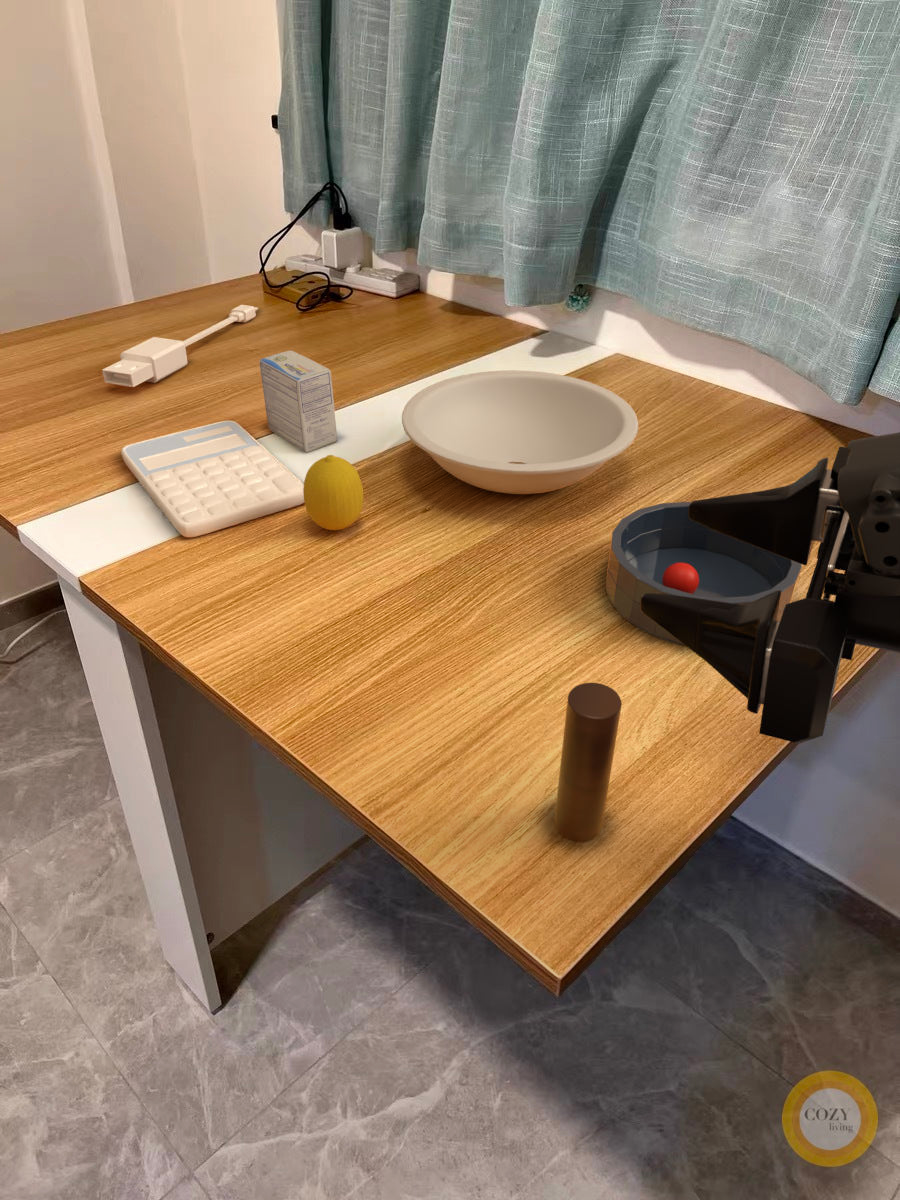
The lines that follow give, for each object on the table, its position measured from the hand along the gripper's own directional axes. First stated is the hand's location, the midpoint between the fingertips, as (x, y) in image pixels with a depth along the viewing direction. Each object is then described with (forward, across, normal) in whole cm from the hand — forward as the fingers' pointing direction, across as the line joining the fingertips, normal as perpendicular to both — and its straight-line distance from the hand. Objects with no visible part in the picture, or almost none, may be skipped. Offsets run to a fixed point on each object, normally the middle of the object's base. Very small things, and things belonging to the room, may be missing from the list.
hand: (666, 553), depth 50 cm
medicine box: (+50, -30, +16) cm, 61 cm away
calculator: (+53, -17, +14) cm, 57 cm away
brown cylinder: (+3, +8, +16) cm, 19 cm away
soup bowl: (+26, -33, +19) cm, 46 cm away
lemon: (+36, -14, +16) cm, 42 cm away
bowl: (+3, -20, +19) cm, 28 cm away
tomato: (+4, -19, +17) cm, 26 cm away
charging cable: (+79, -44, +15) cm, 92 cm away
